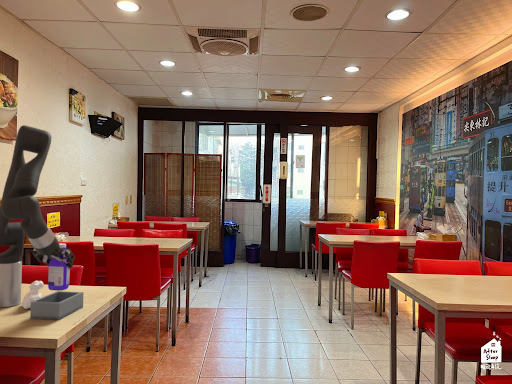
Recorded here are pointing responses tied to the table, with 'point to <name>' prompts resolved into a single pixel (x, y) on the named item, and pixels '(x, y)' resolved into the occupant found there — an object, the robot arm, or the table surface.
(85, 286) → the table surface
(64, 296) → the tote
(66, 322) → the table surface
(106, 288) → the table surface
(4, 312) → the table surface
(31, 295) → the bust
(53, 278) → the bottle
